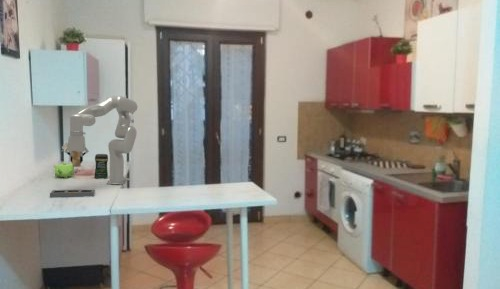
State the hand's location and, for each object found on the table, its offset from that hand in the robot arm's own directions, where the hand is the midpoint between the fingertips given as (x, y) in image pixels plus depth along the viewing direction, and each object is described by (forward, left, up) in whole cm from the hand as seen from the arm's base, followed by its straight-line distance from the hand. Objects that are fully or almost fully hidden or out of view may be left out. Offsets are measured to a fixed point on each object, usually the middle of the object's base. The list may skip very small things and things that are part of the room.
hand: (76, 162), depth 255 cm
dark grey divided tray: (0, +14, -18) cm, 23 cm away
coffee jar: (-11, -51, -19) cm, 55 cm away
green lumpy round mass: (+15, -56, -19) cm, 61 cm away
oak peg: (0, 0, -2) cm, 2 cm away
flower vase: (+15, -81, -19) cm, 84 cm away
